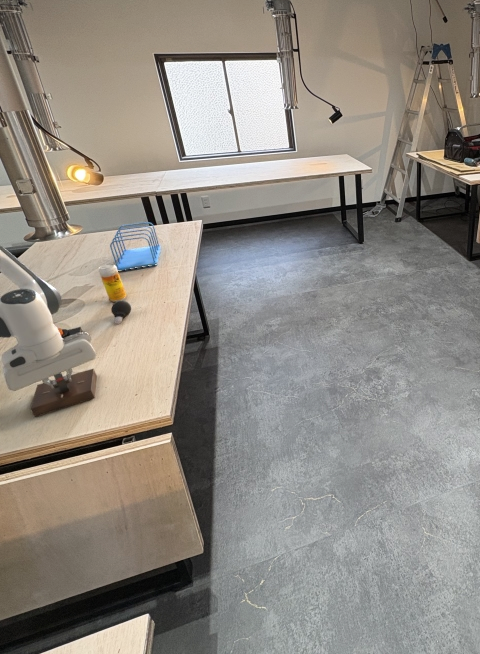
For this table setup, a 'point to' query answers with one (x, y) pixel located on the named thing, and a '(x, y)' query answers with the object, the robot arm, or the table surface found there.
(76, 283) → the table surface
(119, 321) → the light bulb
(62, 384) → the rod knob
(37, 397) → the rod panel
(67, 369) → the robot arm
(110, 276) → the yellow canister
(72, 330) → the button block
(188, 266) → the table surface
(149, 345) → the table surface
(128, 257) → the file sorter
